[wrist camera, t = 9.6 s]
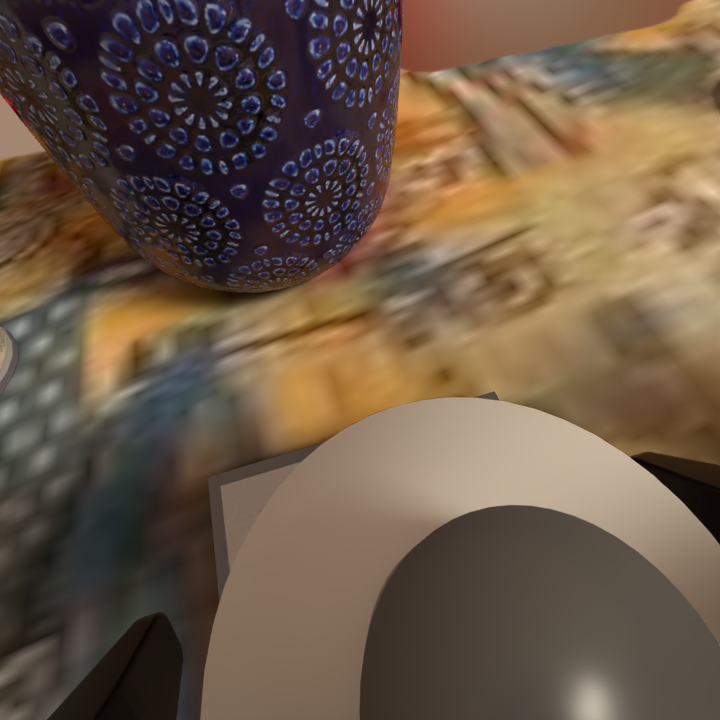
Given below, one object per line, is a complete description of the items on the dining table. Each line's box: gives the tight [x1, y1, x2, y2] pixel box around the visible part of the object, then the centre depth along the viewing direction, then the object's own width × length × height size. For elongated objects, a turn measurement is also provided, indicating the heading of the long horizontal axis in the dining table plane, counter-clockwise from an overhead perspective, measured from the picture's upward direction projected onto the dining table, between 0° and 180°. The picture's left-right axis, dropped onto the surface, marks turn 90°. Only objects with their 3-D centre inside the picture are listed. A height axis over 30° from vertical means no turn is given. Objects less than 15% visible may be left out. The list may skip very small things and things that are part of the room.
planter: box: [0, 0, 404, 293], centre depth 19 cm, size 16×17×15 cm
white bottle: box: [200, 397, 720, 720], centre depth 8 cm, size 6×6×13 cm
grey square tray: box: [208, 391, 499, 603], centre depth 13 cm, size 13×13×4 cm
